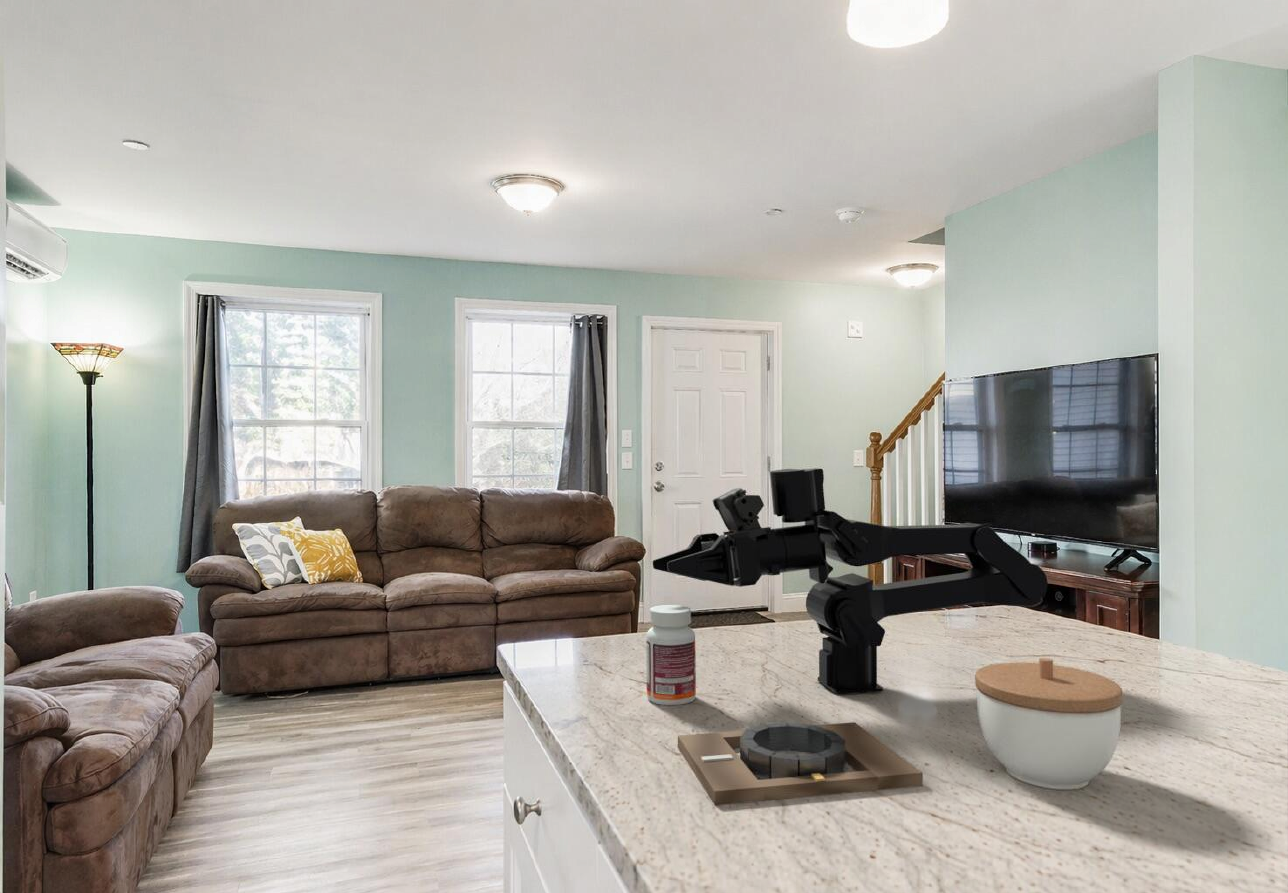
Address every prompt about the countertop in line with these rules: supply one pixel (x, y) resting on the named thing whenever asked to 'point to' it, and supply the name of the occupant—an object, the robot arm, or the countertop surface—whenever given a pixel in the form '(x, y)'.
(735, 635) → the countertop surface
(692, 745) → the socket board
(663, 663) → the pill bottle
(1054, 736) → the lidded bowl
